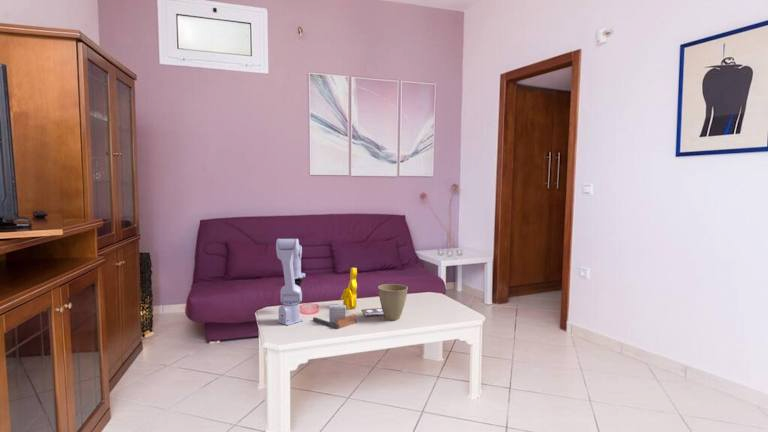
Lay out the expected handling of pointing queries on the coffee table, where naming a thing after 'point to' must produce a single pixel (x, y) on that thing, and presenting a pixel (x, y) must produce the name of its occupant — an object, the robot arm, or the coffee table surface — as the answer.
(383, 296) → the plant pot
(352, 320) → the grey and brown pieces
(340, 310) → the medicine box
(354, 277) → the figure statuette
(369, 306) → the coffee table surface
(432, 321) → the coffee table surface
